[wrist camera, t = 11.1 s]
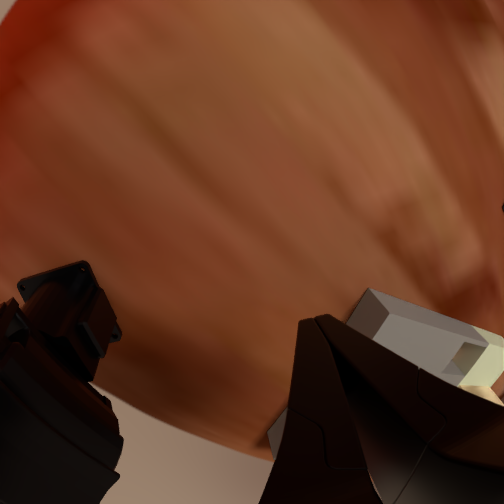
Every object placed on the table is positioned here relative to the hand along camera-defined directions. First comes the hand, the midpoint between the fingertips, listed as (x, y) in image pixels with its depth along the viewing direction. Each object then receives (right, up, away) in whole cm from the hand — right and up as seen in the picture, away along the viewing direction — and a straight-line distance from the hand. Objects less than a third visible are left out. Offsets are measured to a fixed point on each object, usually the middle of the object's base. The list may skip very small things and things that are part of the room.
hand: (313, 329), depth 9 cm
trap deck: (+15, -12, +21) cm, 29 cm away
